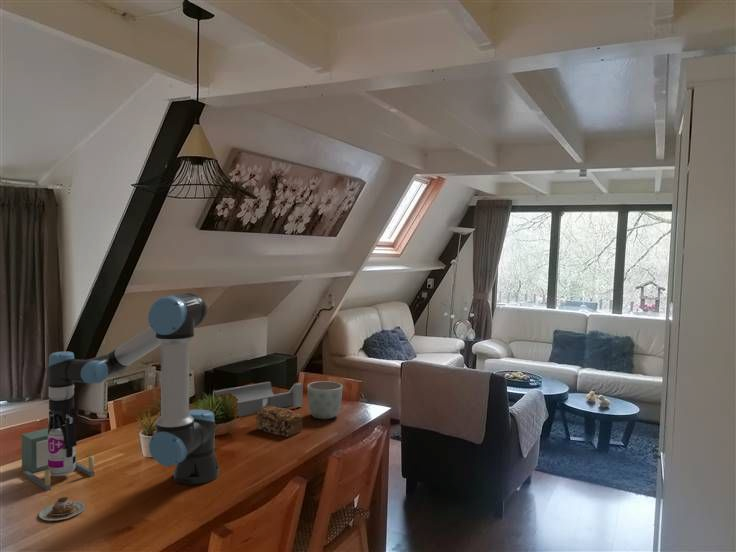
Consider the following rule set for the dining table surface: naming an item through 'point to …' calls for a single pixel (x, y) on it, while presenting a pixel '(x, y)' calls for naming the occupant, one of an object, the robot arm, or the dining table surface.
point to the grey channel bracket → (263, 397)
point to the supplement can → (58, 454)
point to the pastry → (61, 509)
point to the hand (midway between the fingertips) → (61, 462)
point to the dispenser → (42, 458)
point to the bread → (278, 421)
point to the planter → (324, 399)
